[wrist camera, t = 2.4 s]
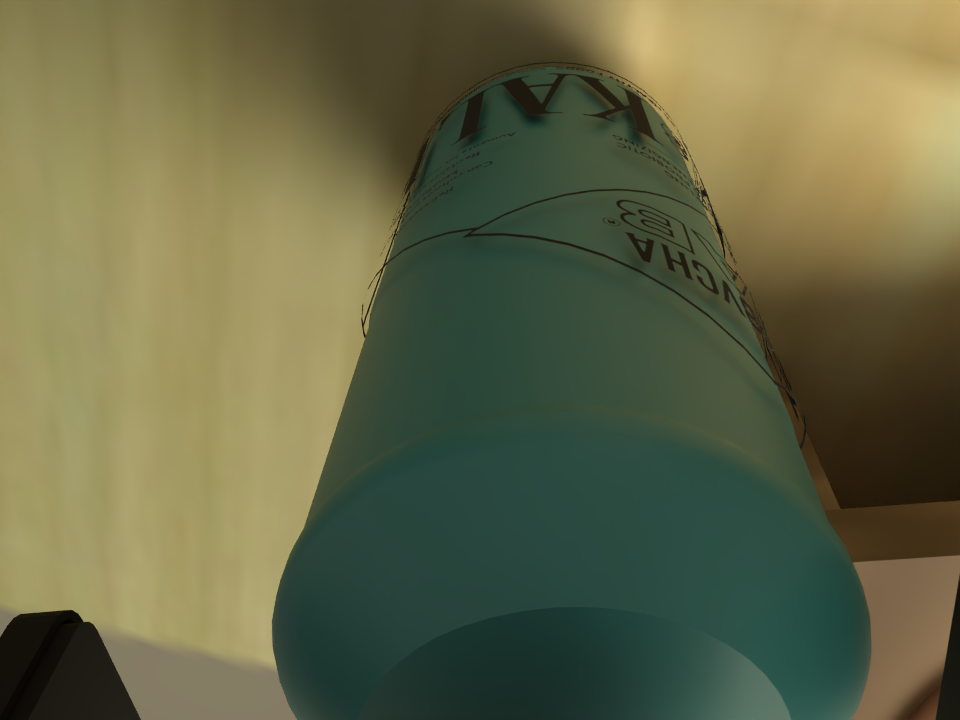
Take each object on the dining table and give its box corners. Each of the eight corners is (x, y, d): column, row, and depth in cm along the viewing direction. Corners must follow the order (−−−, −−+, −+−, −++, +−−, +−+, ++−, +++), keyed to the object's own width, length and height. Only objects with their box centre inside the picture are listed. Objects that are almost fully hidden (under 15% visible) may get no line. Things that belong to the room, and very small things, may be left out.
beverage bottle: (594, 327, 25) (730, 1453, 8) (372, 218, 24) (-37, 1291, 7) (737, 118, 22) (1460, 1234, 5) (490, -21, 21) (288, 844, 4)
